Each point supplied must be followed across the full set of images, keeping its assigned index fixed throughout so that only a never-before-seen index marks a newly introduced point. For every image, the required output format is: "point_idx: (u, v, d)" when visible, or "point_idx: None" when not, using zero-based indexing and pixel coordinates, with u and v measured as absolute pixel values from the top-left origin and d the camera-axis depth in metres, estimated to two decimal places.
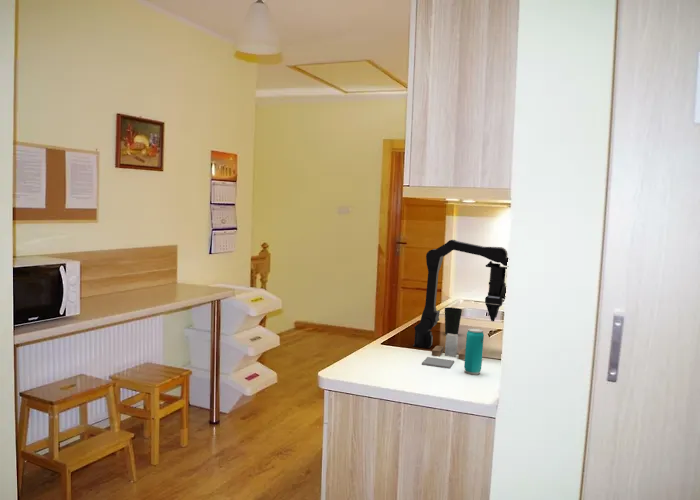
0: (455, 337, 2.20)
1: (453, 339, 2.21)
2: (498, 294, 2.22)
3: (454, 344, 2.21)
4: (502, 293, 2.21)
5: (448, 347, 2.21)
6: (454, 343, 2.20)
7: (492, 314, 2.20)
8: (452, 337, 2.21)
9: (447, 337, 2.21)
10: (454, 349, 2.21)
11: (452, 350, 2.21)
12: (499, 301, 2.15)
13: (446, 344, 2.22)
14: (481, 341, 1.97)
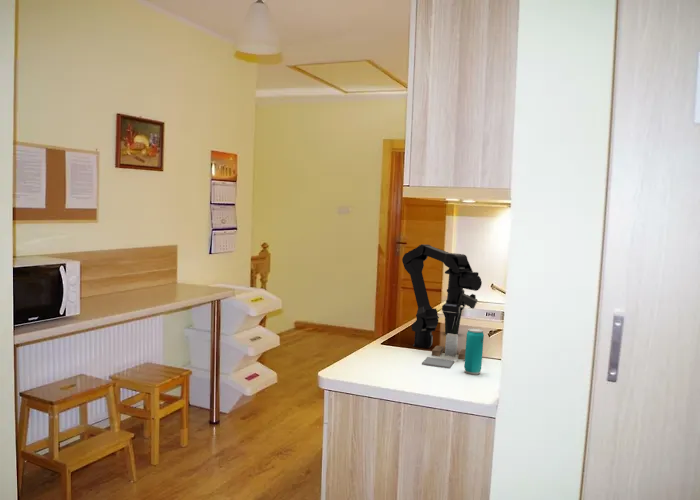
0: (455, 337, 2.20)
1: (453, 339, 2.21)
2: (456, 302, 2.19)
3: (454, 344, 2.21)
4: (460, 301, 2.18)
5: (448, 347, 2.21)
6: (454, 343, 2.20)
7: (449, 322, 2.17)
8: (452, 337, 2.21)
9: (447, 337, 2.21)
10: (454, 349, 2.21)
11: (452, 350, 2.21)
12: (456, 309, 2.12)
13: (446, 344, 2.22)
14: (481, 341, 1.97)
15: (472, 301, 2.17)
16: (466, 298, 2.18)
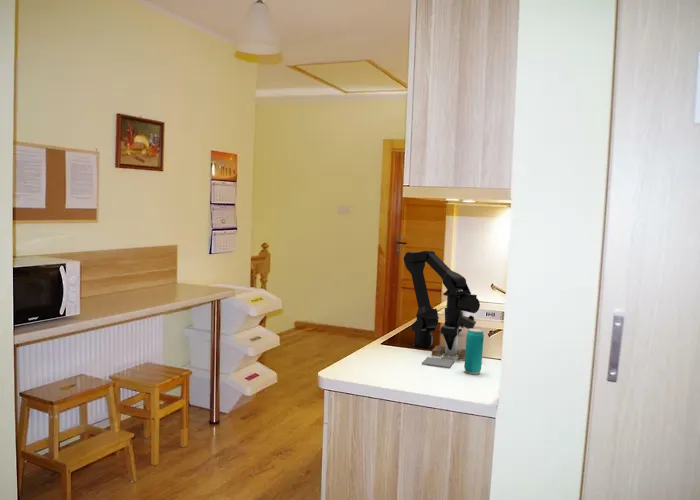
0: (455, 337, 2.20)
1: None
2: (454, 324, 2.20)
3: (454, 344, 2.21)
4: (458, 323, 2.19)
5: None
6: (454, 343, 2.20)
7: (449, 343, 2.20)
8: None
9: None
10: (454, 349, 2.21)
11: (452, 350, 2.21)
12: (454, 332, 2.13)
13: (446, 344, 2.22)
14: (481, 341, 1.97)
15: (470, 323, 2.18)
16: (464, 320, 2.18)
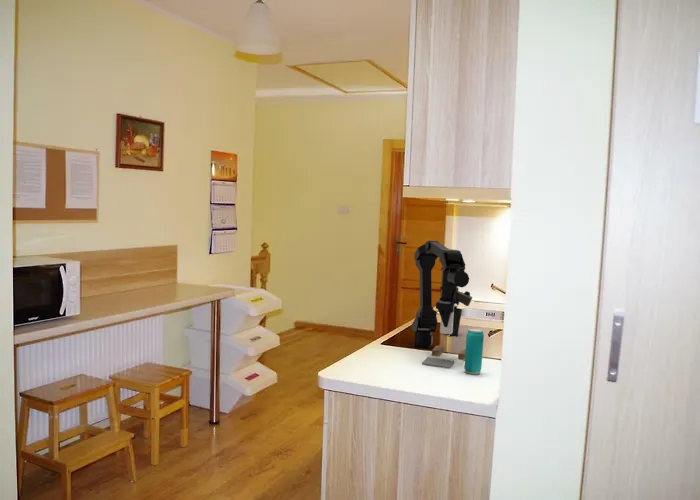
0: (451, 313, 2.11)
1: None
2: (450, 299, 2.10)
3: (450, 321, 2.11)
4: (454, 298, 2.10)
5: None
6: (450, 320, 2.11)
7: (445, 320, 2.11)
8: None
9: None
10: (450, 326, 2.11)
11: (448, 327, 2.12)
12: (450, 306, 2.04)
13: None
14: (481, 341, 1.97)
15: (467, 298, 2.09)
16: (460, 295, 2.09)
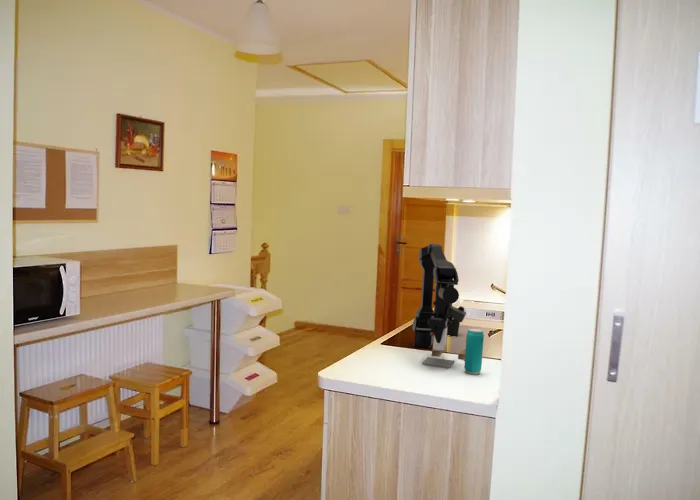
0: (444, 329, 2.07)
1: None
2: (443, 315, 2.06)
3: (443, 337, 2.07)
4: (447, 314, 2.05)
5: None
6: (443, 336, 2.07)
7: (437, 336, 2.06)
8: None
9: None
10: (443, 342, 2.07)
11: (441, 343, 2.07)
12: (442, 323, 1.99)
13: (434, 337, 2.08)
14: (481, 341, 1.97)
15: (460, 314, 2.04)
16: (454, 311, 2.05)
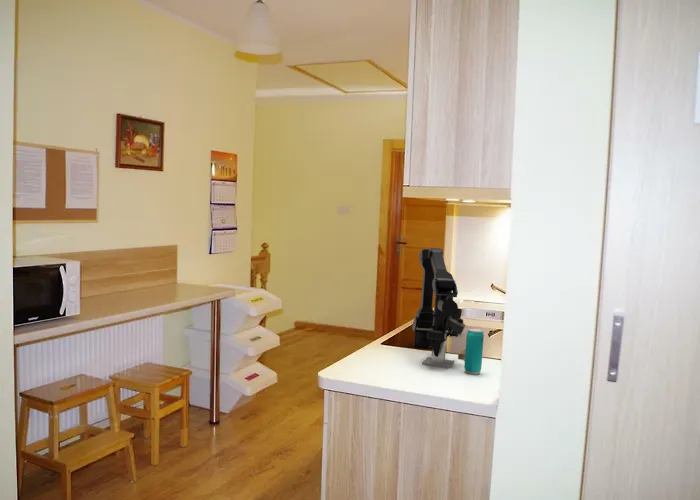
0: (443, 342, 2.07)
1: (441, 344, 2.07)
2: (442, 327, 2.06)
3: (442, 350, 2.07)
4: (446, 326, 2.05)
5: None
6: (442, 349, 2.07)
7: (435, 349, 2.04)
8: None
9: None
10: (442, 355, 2.07)
11: (440, 356, 2.07)
12: (441, 336, 1.99)
13: None
14: (481, 341, 1.97)
15: (459, 327, 2.04)
16: (453, 323, 2.05)
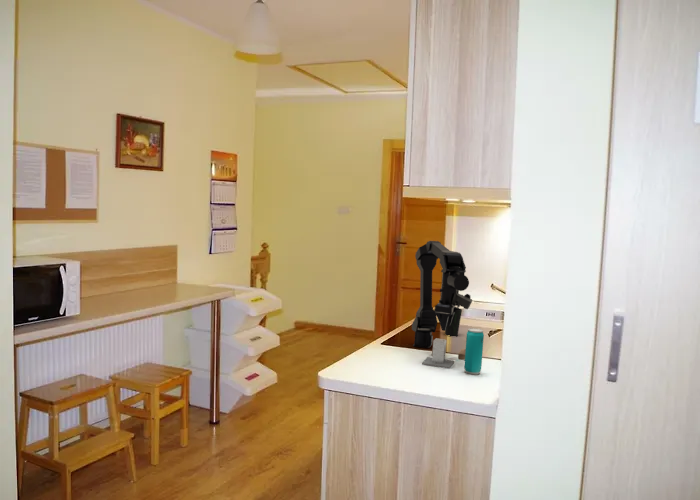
0: (443, 342, 2.07)
1: (441, 344, 2.07)
2: (449, 302, 2.10)
3: (442, 350, 2.07)
4: (453, 301, 2.09)
5: (436, 352, 2.08)
6: (442, 349, 2.07)
7: (442, 323, 2.08)
8: (440, 342, 2.07)
9: (434, 342, 2.08)
10: (442, 355, 2.07)
11: (440, 356, 2.07)
12: (448, 310, 2.03)
13: (433, 350, 2.08)
14: (481, 341, 1.97)
15: (466, 301, 2.08)
16: (460, 298, 2.08)
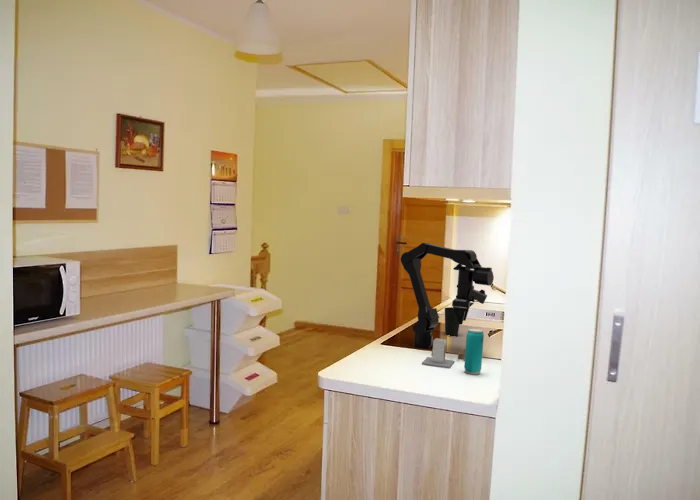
0: (443, 342, 2.07)
1: (441, 344, 2.07)
2: (466, 297, 2.22)
3: (442, 350, 2.07)
4: (470, 296, 2.21)
5: (436, 352, 2.08)
6: (442, 349, 2.07)
7: (460, 317, 2.20)
8: (440, 342, 2.07)
9: (434, 342, 2.08)
10: (442, 355, 2.07)
11: (440, 356, 2.07)
12: (466, 304, 2.15)
13: (433, 350, 2.08)
14: (481, 341, 1.97)
15: (482, 296, 2.20)
16: (476, 293, 2.21)
